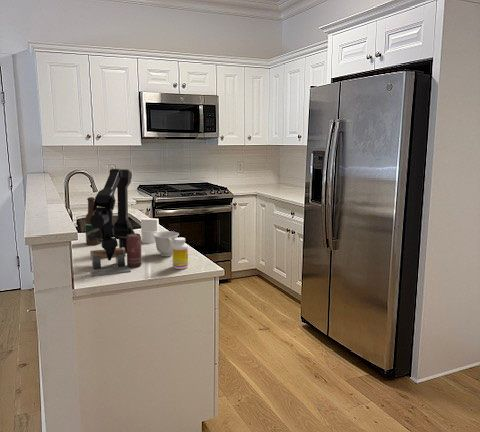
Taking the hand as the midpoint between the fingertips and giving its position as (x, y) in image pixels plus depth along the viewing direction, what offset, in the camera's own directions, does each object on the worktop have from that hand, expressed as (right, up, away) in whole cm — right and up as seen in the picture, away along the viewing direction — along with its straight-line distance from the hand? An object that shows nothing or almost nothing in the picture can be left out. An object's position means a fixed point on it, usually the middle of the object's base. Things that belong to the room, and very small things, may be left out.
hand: (108, 257), depth 193 cm
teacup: (+23, -1, +17) cm, 28 cm away
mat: (+3, -5, -6) cm, 9 cm away
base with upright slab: (+10, +5, +41) cm, 43 cm away
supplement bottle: (+31, -4, 0) cm, 32 cm away
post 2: (+5, -3, +3) cm, 6 cm away
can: (+11, -4, +2) cm, 12 cm away
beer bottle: (-18, +4, +36) cm, 40 cm away
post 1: (-5, -4, -1) cm, 6 cm away
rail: (0, 0, 0) cm, 0 cm away
